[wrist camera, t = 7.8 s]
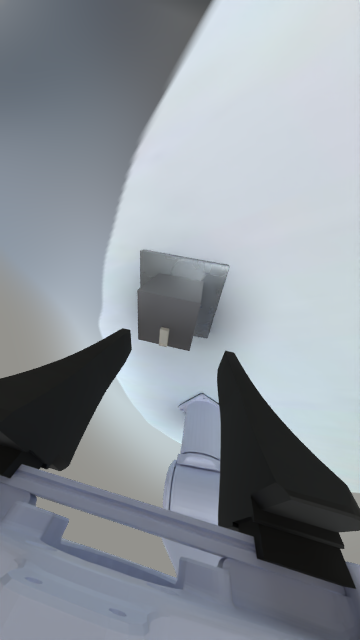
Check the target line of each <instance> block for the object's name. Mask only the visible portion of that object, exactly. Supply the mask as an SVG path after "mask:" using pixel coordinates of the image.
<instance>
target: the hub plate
mask: <svg viewBox="0 0 360 640" xmlns="http://www.w3.org/2000/svg"><path fill="white" fill-rule="evenodd" d="M228 270H229V265H225V264H220V263H214V262H209V261H203V260H198V259H192V258H187V257H181V256H176V255H170V254H165V253H159V252H154V251H148V250H141V251H140V288H141V287H142V286H143V285H145V284H146V283H147V282H148V281H149V280H151V279H152V278H153V277H154V276H156V275H157V274H158V273H161V274H166V275H172V276H177V277H182V278H187V279H192V280H198V281H203V290H202V298H201V305H200V309H199V313H198V317H197V321H196V326H195V330H194V334H193V335H194V336H198V337H203V338H208V335H209V331H210V328H211V325H212V322H213V318H214V315H215V312H216V309H217V306H218V302H219V299H220V296H221V293H222V289H223V286H224V283H225V280H226V277H227V273H228Z"/></svg>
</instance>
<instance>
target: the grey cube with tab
mask: <svg viewBox="0 0 360 640" xmlns="http://www.w3.org/2000/svg"><path fill="white" fill-rule="evenodd" d="M202 290H203V281H198V280H192V279H187V278H182V277H177V276H172V275H166V274H161V273H158V274H157V275H156V276H154V277H153V278H152V279H151V280H149V281H148V282H147V283H146V284H145V285H143V286H142V287H141V288H140V289H138V290H137V293H138V339H139V340H143V341H148V342H152V343H157V344H159V346H164V347H167V346H170V347H174V348H178V349H183V350H187V351H190V346H191V342H192V338H193V334H194V330H195V326H196V321H197V317H198V313H199V309H200V305H201V298H202Z"/></svg>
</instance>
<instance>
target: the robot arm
mask: <svg viewBox="0 0 360 640" xmlns="http://www.w3.org/2000/svg"><path fill="white" fill-rule="evenodd" d="M131 350H132V349H131V333H130V330H128V329H123V328H122V329H121V330H119V331H117V332H115V333H113V334H112V335H110V336H108V337H106V338H105V339H103V340H101V341H99V342H97V343H96V344H93V345H91V346H90V347H87V348H85V349H83V350H82V351H79V352H77V353H75V354H73V355H70V356H68V357H66V358H64V359H61V360H58V361H56V362H53V363H50V364H47V365H44V366H42V367H39V368H36V369H33V370H29V371H26V372H23V373H19V374H16V375H13V376H9V377H5V378H1V379H0V640H360V565H358V564H355V563H349V562H345V560H344V558H343V555H342V553H341V550H340V549H344V544H343V542H342V539H341V537H340V535H339V532H348V531H359V530H360V508H359V507H358V505H357V503H356V501H355V499H354V497H353V496H352V493H351V492H350V490H349V488H348V486H347V485H346V484H345V483H344V482H343V481H342V480H341V479H340V478H339V477H337V476H336V475H335V474H334V473H333V472H332V471H331V470H330V469H329V468H328V467H327V466H326V465H325V464H324V463H322V462H321V461H320V460H319V459H318V458H317V457H316V456H315V455H314V454H313V453H312V452H311V451H310V450H309V449H308V448H307V447H306V446H305V445H304V444H303V443H302V442H301V441H300V440H299V439H298V438H297V437H296V436H295V435H294V434H293V433H292V431H291V430H290V429H289V428H288V427H287V426H286V425H285V424H284V423H283V422H282V420H281V419H280V418H279V417H278V416H277V415H276V414H275V412H274V411H273V410H272V409H271V407H270V406H269V405H268V404H267V402H266V401H265V400H264V399H263V397H262V396H261V395H260V393H259V392H258V390H257V389H256V388H255V386H254V385H253V383H252V382H251V380H250V379H249V377H248V375H247V374H246V372H245V371H244V369H243V367H242V366H241V364H240V362H239V360H238V359H237V357H236V355H235V354H234V353H233V352H228V351H225V353H224V355H223V358H222V360H221V363H220V365H219V368H218V374H217V386H218V397H219V404H217V403H216V402H214V401H213V400H211V399H210V398H208V397H207V396H205V395H204V394H200V395H198V396H196V397H194V398H193V399H191V400H189V401H187V402H185V403H183V404H181V405H180V406H179V409H180V410H182V411H184V412H185V413H186V416H185V424H184V431H183V439H182V447H181V454H178V457H177V460H174V461H173V462H172V463H171V465H170V466H169V469H168V472H167V476H166V481H165V487H164V495H163V508H160V507H157V506H154V505H151V504H147V503H144V502H141V501H138V500H135V499H131V498H128V497H125V496H122V495H119V494H115V493H112V492H109V491H106V490H103V489H99V488H96V487H93V486H90V485H87V484H83V483H80V482H77V481H74V480H71V479H68V478H64V477H61V476H58V475H55V474H52V473H48V472H45V471H42V470H39V469H40V468H44V469H48V468H52V469H55V470H58V471H62V470H63V469H65V468H67V467H68V466H69V464H70V462H71V460H72V458H73V455H74V453H75V451H76V449H77V447H78V445H79V442H80V440H81V438H82V436H83V434H84V432H85V430H86V428H87V426H88V424H89V422H90V420H91V418H92V416H93V414H94V412H95V410H96V408H97V406H98V404H99V403H100V401H101V399H102V397H103V395H104V393H105V392H106V390H107V389H108V387H109V386H110V384H111V382H112V381H113V380H114V378H115V377H116V375H117V374H118V372H119V371H120V369H121V368H122V366H123V365H124V363H125V362H126V360H127V358H128V356H129V354H130V352H131ZM36 496H38V497H41V498H44V499H47V500H50V501H53V502H56V503H59V504H62V505H65V506H68V507H71V508H74V509H77V510H81V511H84V512H87V513H89V514H92V515H95V516H98V517H101V518H104V519H108V520H111V521H113V522H117V523H120V524H123V525H126V526H129V527H132V528H135V529H138V530H141V531H144V532H147V533H150V534H153V535H156V536H159V537H161V538H162V542H163V544H164V547H165V549H166V551H167V553H168V555H169V558H170V560H171V562H172V564H173V567H174V569H175V571H176V575H177V578H175V577H173V576H170V575H167V574H164V573H162V572H159V571H157V570H153V569H151V568H149V567H146V566H143V565H140V564H138V563H134V562H132V561H129V560H126V559H124V558H121V557H118V556H115V555H112V554H109V553H106V552H103V551H100V550H97V549H94V548H91V547H88V546H85V545H82V544H79V543H76V542H73V541H69V540H66V539H63V538H62V535H63V533H64V530H65V529H66V527H67V525H68V523H69V519H68V518H66V517H63V516H60V515H57V514H55V513H52V512H50V511H47V510H44V509H41V508H38V507H36V501H37V498H36Z"/></svg>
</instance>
